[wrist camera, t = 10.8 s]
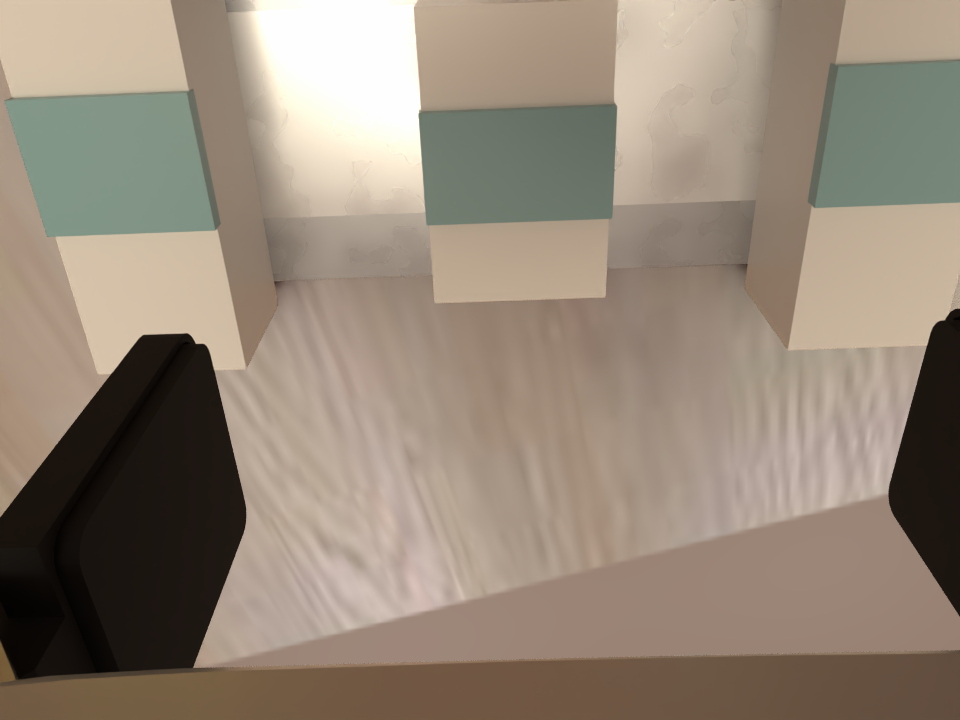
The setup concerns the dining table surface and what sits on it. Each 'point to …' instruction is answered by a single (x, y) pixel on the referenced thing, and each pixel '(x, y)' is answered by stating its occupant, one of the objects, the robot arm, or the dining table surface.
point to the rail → (396, 137)
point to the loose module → (517, 145)
